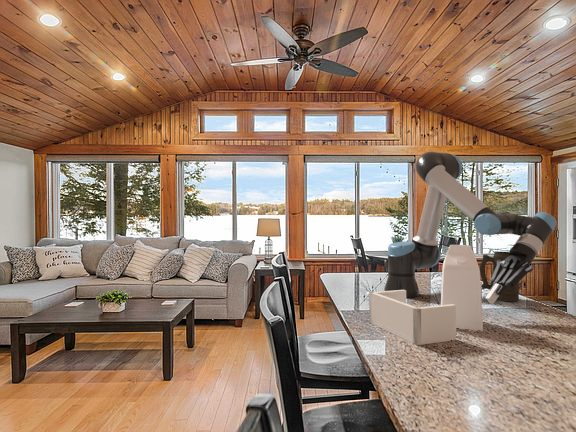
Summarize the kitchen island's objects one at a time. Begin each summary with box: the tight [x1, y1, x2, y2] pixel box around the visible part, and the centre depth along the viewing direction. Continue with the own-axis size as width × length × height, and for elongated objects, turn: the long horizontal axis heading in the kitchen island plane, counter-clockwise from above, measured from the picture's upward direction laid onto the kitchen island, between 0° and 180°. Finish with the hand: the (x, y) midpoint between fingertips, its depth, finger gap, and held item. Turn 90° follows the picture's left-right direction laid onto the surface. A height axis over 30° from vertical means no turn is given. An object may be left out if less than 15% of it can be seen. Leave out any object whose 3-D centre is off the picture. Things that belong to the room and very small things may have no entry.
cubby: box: [368, 290, 457, 346], centre depth 123 cm, size 25×14×10 cm, turn 19°
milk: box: [440, 244, 484, 332], centre depth 129 cm, size 12×12×26 cm
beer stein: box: [479, 251, 520, 303], centre depth 166 cm, size 15×11×20 cm
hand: (489, 300), depth 133 cm, fingers closed
